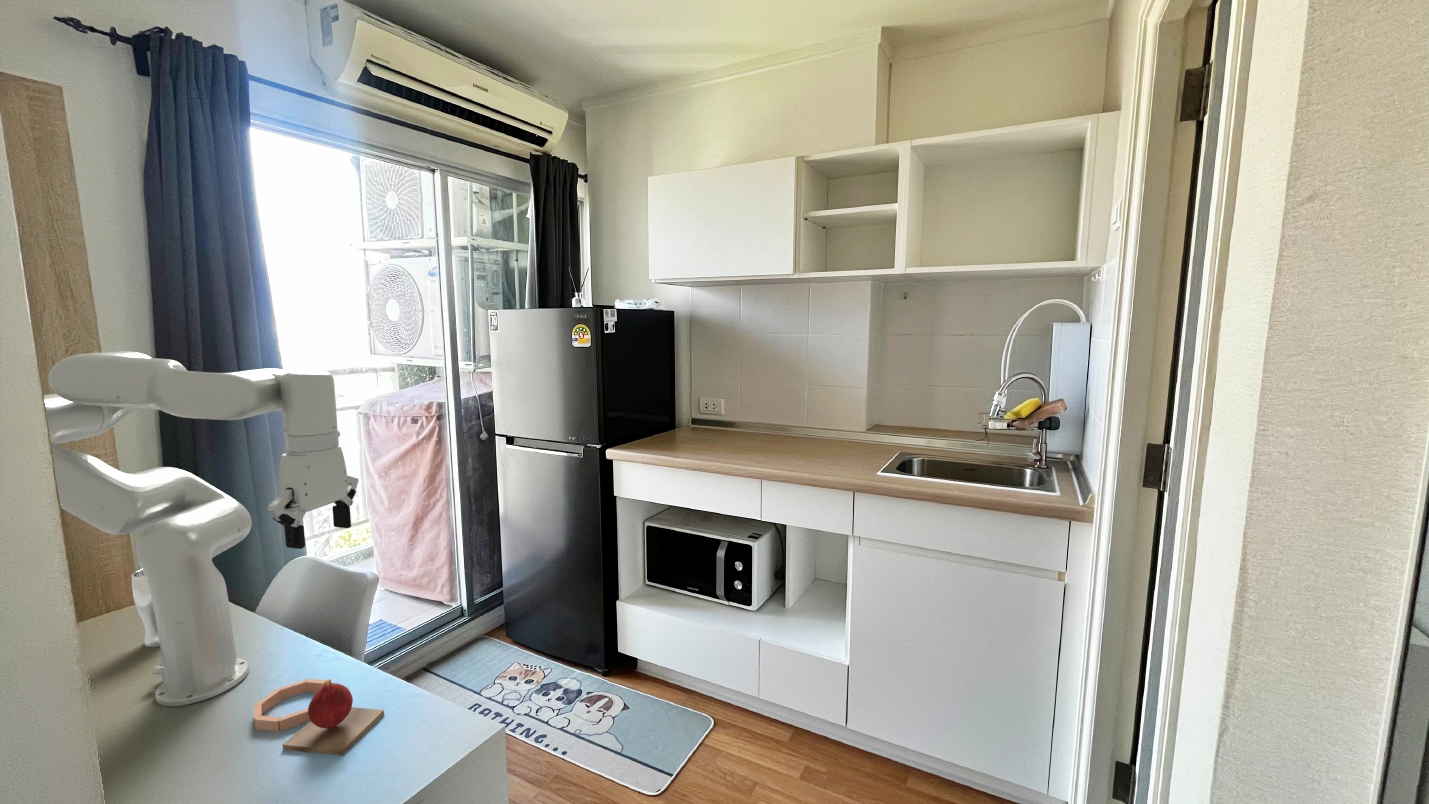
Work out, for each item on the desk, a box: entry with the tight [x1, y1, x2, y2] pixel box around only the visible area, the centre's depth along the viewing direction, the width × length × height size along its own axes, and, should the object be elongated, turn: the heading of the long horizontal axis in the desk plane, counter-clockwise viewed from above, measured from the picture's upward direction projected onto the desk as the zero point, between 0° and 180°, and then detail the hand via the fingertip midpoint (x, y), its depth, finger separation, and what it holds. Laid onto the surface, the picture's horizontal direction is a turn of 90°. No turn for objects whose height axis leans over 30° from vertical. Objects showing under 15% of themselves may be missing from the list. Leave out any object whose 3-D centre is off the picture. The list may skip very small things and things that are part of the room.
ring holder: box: [253, 678, 327, 733], centre depth 96 cm, size 10×10×2 cm
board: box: [281, 706, 385, 756], centre depth 91 cm, size 10×9×1 cm
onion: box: [307, 679, 354, 729], centre depth 90 cm, size 6×6×8 cm
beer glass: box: [131, 568, 160, 648], centre depth 116 cm, size 7×7×15 cm
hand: (320, 536), depth 101 cm, fingers open, 9 cm apart
